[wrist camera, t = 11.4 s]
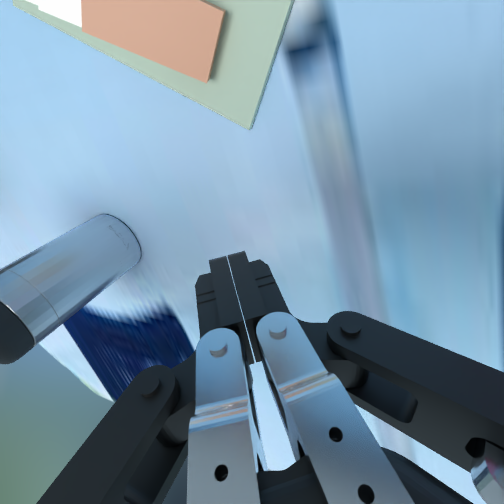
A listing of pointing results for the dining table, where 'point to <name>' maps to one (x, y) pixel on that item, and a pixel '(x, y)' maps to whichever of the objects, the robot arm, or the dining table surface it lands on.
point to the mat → (225, 63)
